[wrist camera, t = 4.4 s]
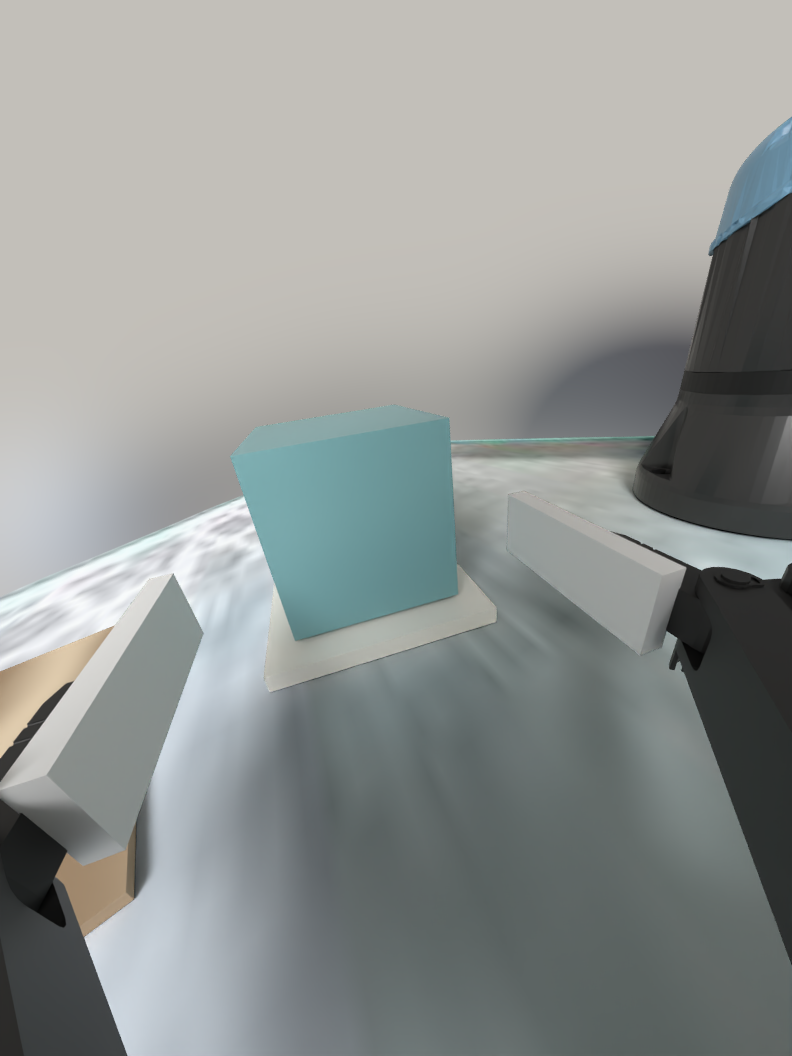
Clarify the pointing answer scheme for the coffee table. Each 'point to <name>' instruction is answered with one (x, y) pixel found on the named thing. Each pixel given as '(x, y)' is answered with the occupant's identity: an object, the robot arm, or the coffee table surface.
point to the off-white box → (370, 635)
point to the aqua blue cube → (353, 513)
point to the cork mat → (3, 713)
